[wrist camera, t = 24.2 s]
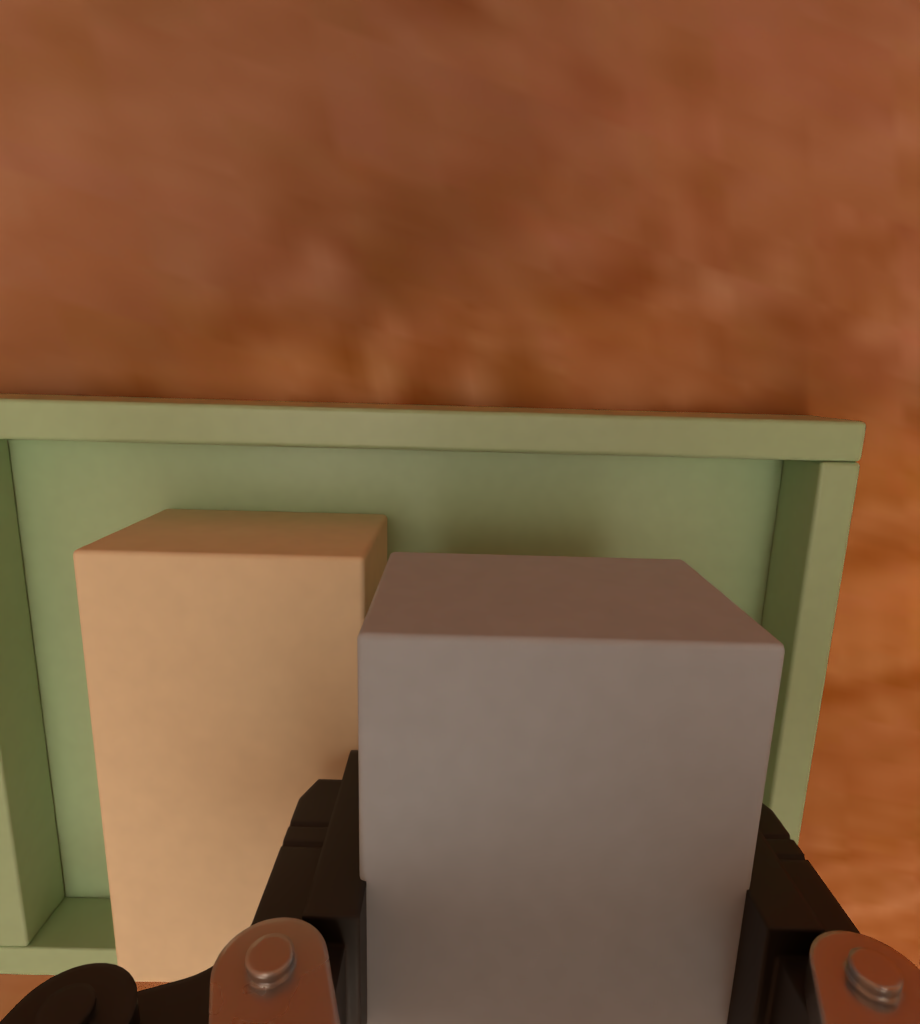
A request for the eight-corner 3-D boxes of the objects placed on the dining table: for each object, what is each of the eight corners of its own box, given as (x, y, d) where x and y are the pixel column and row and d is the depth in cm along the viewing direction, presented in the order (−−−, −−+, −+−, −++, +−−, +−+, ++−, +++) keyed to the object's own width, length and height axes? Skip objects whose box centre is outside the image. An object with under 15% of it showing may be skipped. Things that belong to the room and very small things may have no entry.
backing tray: (-14, 392, 14) (-94, 395, 12) (809, 414, 14) (869, 421, 12) (53, 902, 17) (-3, 975, 15) (737, 918, 17) (775, 992, 15)
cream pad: (164, 507, 14) (69, 550, 11) (387, 513, 14) (364, 557, 11) (190, 852, 16) (117, 983, 12) (387, 857, 16) (367, 988, 13)
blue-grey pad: (390, 550, 11) (355, 634, 7) (684, 558, 11) (789, 645, 7) (389, 981, 13) (362, 1208, 9) (637, 987, 13) (702, 1216, 9)
